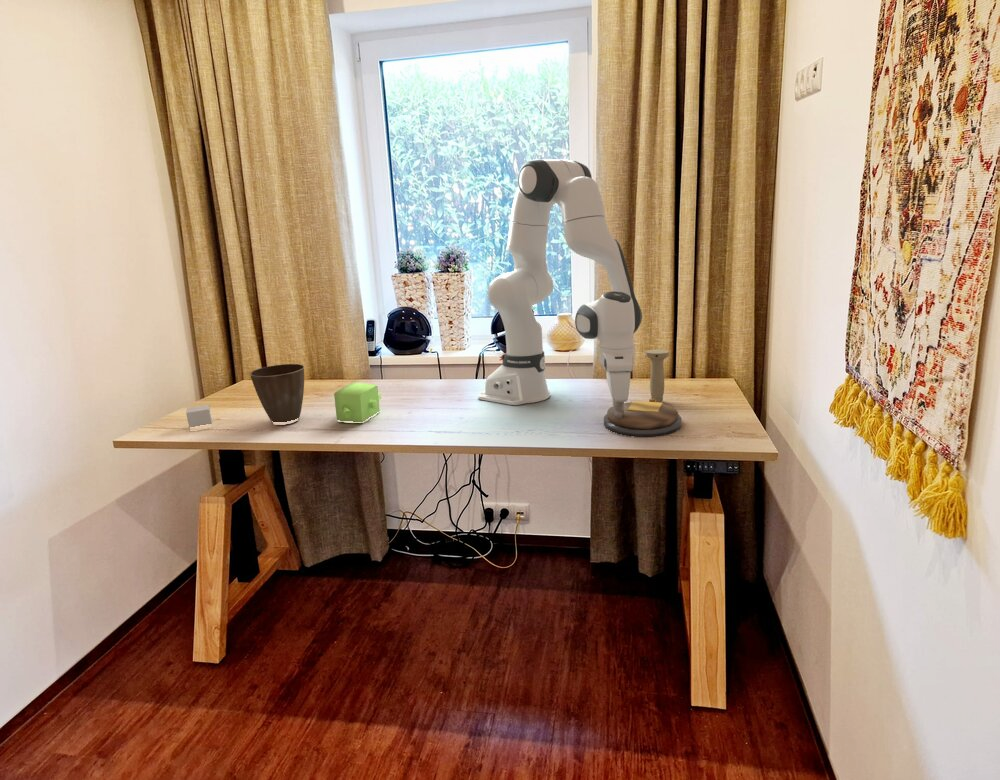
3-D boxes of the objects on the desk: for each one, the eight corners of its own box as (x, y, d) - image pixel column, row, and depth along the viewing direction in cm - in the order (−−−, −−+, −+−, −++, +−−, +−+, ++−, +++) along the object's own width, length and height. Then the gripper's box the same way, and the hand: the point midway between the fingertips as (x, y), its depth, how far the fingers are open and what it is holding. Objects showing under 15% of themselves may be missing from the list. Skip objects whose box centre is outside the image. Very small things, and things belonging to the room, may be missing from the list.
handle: (667, 404, 178) (668, 353, 174) (644, 403, 180) (645, 353, 176) (668, 399, 182) (669, 349, 178) (646, 399, 184) (646, 349, 180)
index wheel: (650, 403, 174) (650, 384, 173) (692, 420, 158) (693, 400, 157) (594, 414, 168) (594, 394, 167) (632, 433, 152) (632, 412, 151)
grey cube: (212, 423, 188) (208, 404, 187) (212, 428, 183) (208, 409, 181) (190, 426, 186) (186, 407, 184) (190, 432, 181) (186, 412, 179)
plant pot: (249, 424, 184) (240, 372, 180) (294, 411, 195) (286, 361, 190) (276, 433, 174) (266, 378, 170) (321, 419, 185) (314, 366, 181)
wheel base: (593, 432, 160) (593, 419, 159) (618, 407, 178) (618, 396, 177) (672, 441, 151) (672, 427, 150) (689, 414, 169) (690, 401, 168)
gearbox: (359, 432, 173) (356, 399, 170) (328, 428, 176) (325, 397, 173) (389, 410, 190) (387, 381, 187) (360, 408, 192) (358, 378, 190)
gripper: (601, 347, 169) (601, 396, 173) (607, 367, 150) (607, 421, 154) (624, 346, 169) (624, 395, 173) (634, 366, 149) (633, 420, 153)
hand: (616, 407), depth 163 cm, fingers closed
